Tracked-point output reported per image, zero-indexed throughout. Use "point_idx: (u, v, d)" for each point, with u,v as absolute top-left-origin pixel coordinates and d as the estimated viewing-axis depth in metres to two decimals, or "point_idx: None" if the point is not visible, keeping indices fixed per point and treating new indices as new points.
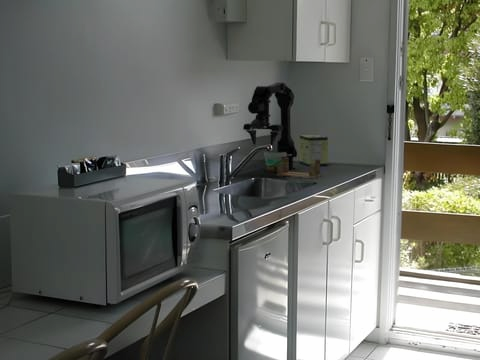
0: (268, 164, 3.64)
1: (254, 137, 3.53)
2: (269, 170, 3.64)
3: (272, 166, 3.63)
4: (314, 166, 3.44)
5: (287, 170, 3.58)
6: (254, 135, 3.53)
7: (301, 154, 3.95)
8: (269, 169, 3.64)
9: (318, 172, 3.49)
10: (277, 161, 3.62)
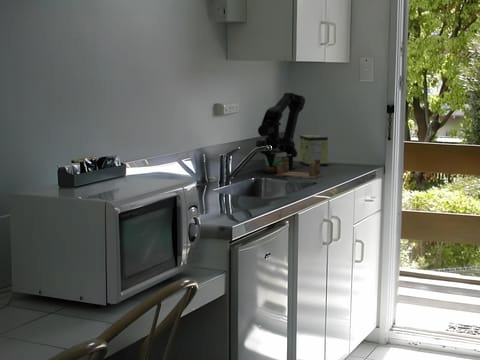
0: (268, 164, 3.64)
1: None
2: (269, 170, 3.64)
3: (272, 166, 3.63)
4: (314, 166, 3.44)
5: (287, 170, 3.58)
6: None
7: (301, 154, 3.95)
8: (269, 169, 3.64)
9: (318, 172, 3.49)
10: (277, 161, 3.62)
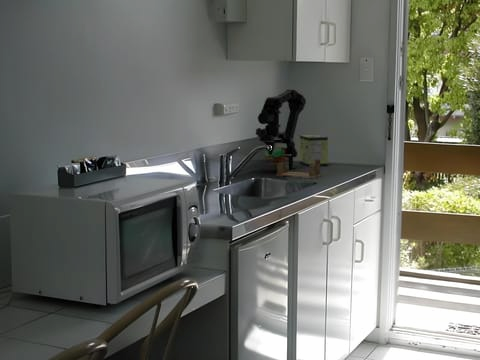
0: (267, 154, 3.63)
1: None
2: (268, 160, 3.62)
3: (271, 156, 3.61)
4: (314, 166, 3.44)
5: (287, 170, 3.58)
6: None
7: (301, 154, 3.95)
8: (268, 159, 3.62)
9: (318, 172, 3.49)
10: (276, 151, 3.61)
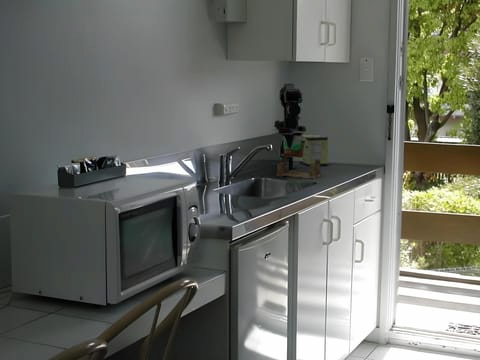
0: (286, 147, 3.51)
1: None
2: (287, 154, 3.51)
3: (290, 149, 3.50)
4: (314, 166, 3.44)
5: (287, 170, 3.58)
6: None
7: None
8: (287, 153, 3.51)
9: (318, 172, 3.49)
10: (295, 144, 3.49)
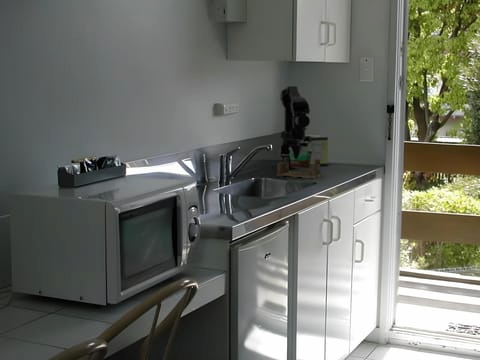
0: (293, 158, 3.49)
1: None
2: (293, 164, 3.49)
3: (297, 160, 3.48)
4: (314, 166, 3.44)
5: (287, 170, 3.58)
6: None
7: None
8: (293, 163, 3.49)
9: (318, 172, 3.49)
10: (302, 155, 3.47)
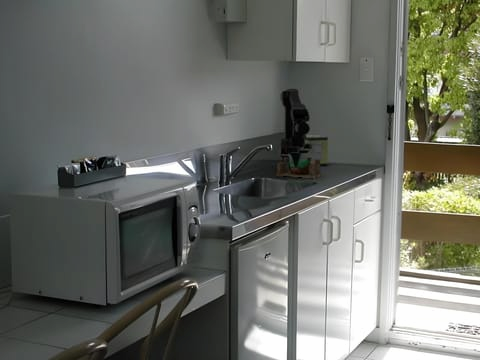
0: (292, 165, 3.49)
1: None
2: (293, 171, 3.49)
3: (297, 167, 3.48)
4: (314, 166, 3.44)
5: (287, 170, 3.58)
6: None
7: None
8: (293, 170, 3.49)
9: (318, 172, 3.49)
10: (302, 161, 3.47)
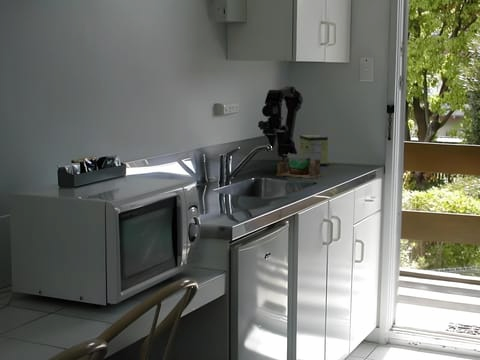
0: (292, 166, 3.49)
1: (279, 138, 3.65)
2: (293, 172, 3.49)
3: (296, 168, 3.48)
4: (314, 166, 3.44)
5: (287, 170, 3.58)
6: (280, 136, 3.65)
7: None
8: (293, 171, 3.49)
9: (318, 172, 3.49)
10: (301, 162, 3.47)
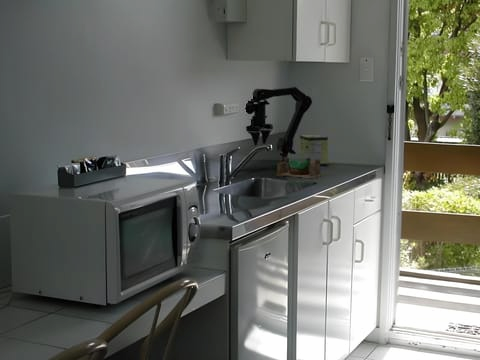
0: (292, 166, 3.49)
1: (264, 136, 3.74)
2: (293, 172, 3.49)
3: (296, 168, 3.48)
4: (314, 166, 3.44)
5: (287, 170, 3.58)
6: (264, 135, 3.74)
7: None
8: (293, 171, 3.49)
9: (318, 172, 3.49)
10: (301, 162, 3.47)
